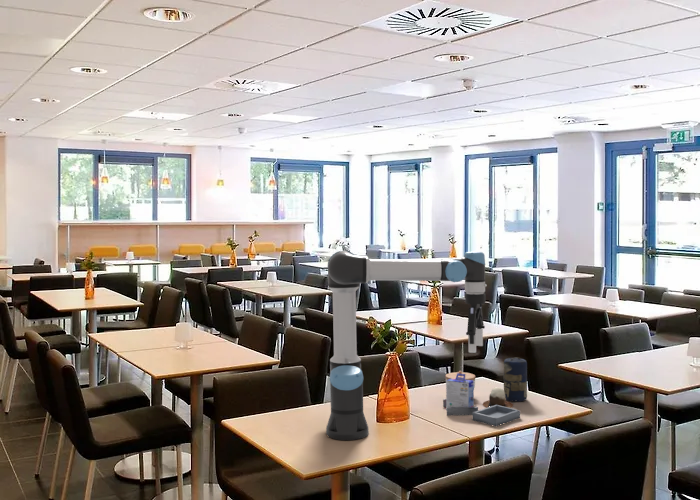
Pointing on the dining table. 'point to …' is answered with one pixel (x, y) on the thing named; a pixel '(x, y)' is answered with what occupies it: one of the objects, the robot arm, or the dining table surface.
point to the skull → (497, 398)
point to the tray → (495, 415)
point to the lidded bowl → (467, 376)
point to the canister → (515, 379)
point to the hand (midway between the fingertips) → (475, 349)
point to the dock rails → (459, 410)
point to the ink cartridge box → (459, 392)
